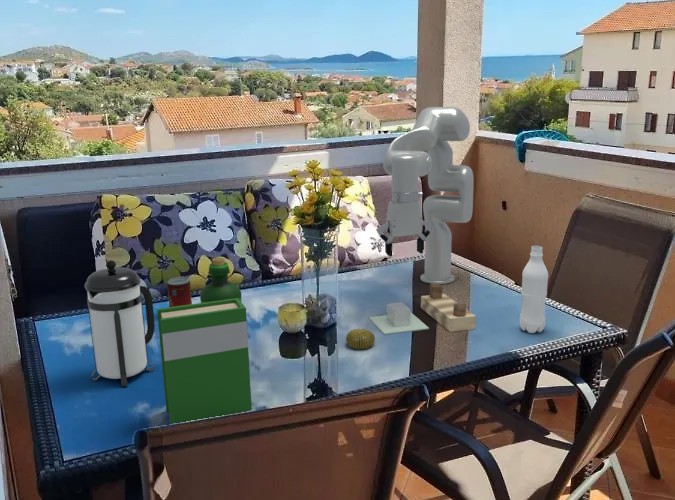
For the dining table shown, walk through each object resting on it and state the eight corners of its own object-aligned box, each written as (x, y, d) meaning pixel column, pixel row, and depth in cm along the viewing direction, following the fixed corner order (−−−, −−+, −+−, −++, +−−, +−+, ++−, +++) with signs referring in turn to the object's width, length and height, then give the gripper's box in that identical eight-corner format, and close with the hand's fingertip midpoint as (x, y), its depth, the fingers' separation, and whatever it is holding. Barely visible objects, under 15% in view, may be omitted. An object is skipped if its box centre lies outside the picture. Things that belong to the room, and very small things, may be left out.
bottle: (226, 374, 157) (219, 266, 150) (195, 365, 162) (187, 261, 155) (254, 358, 166) (248, 256, 159) (223, 350, 171) (217, 252, 164)
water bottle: (547, 334, 178) (553, 249, 172) (522, 334, 178) (527, 250, 172) (540, 325, 185) (545, 243, 179) (516, 325, 185) (520, 244, 179)
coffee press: (158, 382, 153) (147, 265, 145) (89, 392, 148) (73, 271, 141) (157, 355, 169) (147, 248, 161) (94, 363, 164) (81, 253, 157)
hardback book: (170, 426, 133) (160, 320, 127) (166, 410, 139) (156, 309, 133) (251, 409, 139) (245, 308, 133) (243, 395, 145) (238, 297, 140)
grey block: (386, 319, 191) (386, 303, 190) (401, 317, 192) (402, 302, 191) (394, 327, 185) (394, 311, 183) (410, 325, 186) (410, 309, 185)
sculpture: (341, 329, 175) (368, 325, 177) (342, 342, 176) (368, 338, 178) (351, 339, 167) (379, 334, 170) (352, 353, 168) (379, 348, 171)
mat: (368, 318, 193) (368, 317, 193) (411, 313, 197) (411, 312, 197) (384, 334, 180) (384, 333, 180) (428, 329, 184) (428, 327, 184)
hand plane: (420, 307, 202) (421, 284, 200) (443, 305, 204) (444, 281, 202) (450, 331, 181) (451, 305, 179) (475, 328, 183) (476, 303, 181)
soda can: (168, 313, 201) (165, 277, 198) (190, 310, 203) (188, 274, 200) (171, 321, 194) (168, 283, 191) (194, 317, 197) (191, 280, 194)
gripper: (427, 193, 187) (426, 248, 191) (372, 197, 182) (373, 253, 187) (437, 197, 180) (436, 254, 184) (380, 201, 175) (381, 260, 180)
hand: (404, 253), depth 185 cm, fingers open, 9 cm apart
